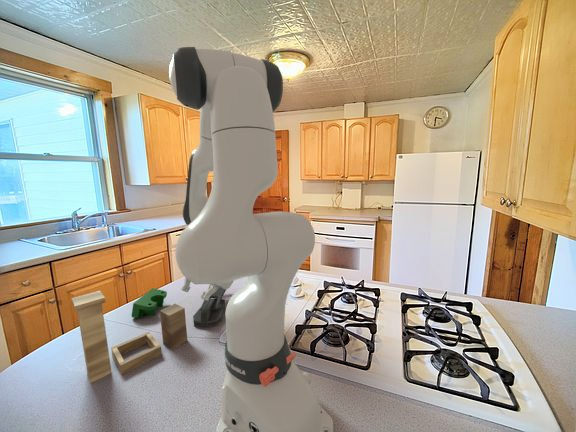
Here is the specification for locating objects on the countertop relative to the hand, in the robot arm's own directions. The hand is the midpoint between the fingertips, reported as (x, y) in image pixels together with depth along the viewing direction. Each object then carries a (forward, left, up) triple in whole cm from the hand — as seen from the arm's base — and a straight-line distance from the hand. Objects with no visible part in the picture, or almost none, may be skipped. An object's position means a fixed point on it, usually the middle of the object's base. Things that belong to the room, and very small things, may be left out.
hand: (193, 295), depth 74 cm
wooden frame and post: (+1, +19, -11) cm, 22 cm away
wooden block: (-1, +7, -11) cm, 13 cm away
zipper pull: (+8, -11, -12) cm, 18 cm away
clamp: (+22, +5, -12) cm, 25 cm away
